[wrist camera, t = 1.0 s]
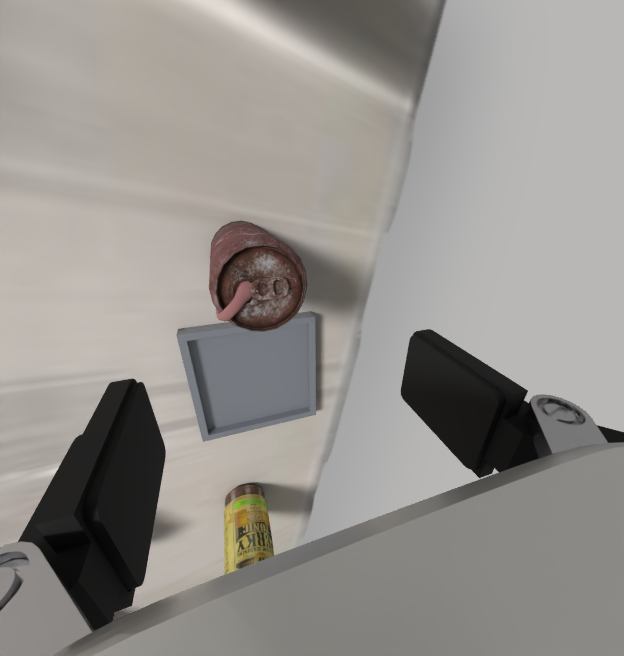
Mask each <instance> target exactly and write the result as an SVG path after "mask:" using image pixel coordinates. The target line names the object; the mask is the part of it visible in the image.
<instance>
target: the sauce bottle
mask: <svg viewBox="0 0 624 656" xmlns="http://www.w3.org/2000/svg"><path fill="white" fill-rule="evenodd" d="M272 556H274V551H273V543H272V536H271V530H270V523H269V516H268V510H267V503H266V500H265V499H264V492H263V490H262V489H261V488H259V487H258V486H256V485H243V486H239V487H237V488H235V489H234V490H232V491H231V492H230V493H229V494H228V495H227V496H226V500H225V511H224V565H225V571H224V574H228V573H230V572H233V571H236V570H238V569H241V568H243V567H246V566H248V565H251V564H254V563H256V562H259V561H262V560H264V559H267V558H270V557H272Z"/></svg>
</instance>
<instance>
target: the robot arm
mask: <svg viewBox="0 0 624 656" xmlns="http://www.w3.org/2000/svg"><path fill="white" fill-rule="evenodd" d="M527 392H528V391H527V390H526V389H524V388H523V387H521V386H519V385H518V384H516V383H515V382H513V381H512V380H510V379H509V378H507V377H505V376H504V375H502V374H500V373H499V372H498V371H496V370H494V369H493V368H491V367H489V366H488V365H486V364H485V363H483V362H482V361H480V360H479V359H477V358H475V357H474V356H472V355H471V354H469V353H467V352H466V351H464V350H463V349H461V348H460V347H458V346H456V345H455V344H453V343H452V342H450V341H449V340H447V339H445V338H443V337H442V336H440V335H439V334H437V333H436V332H434V331H433V330H430V329H429V330H428V329H427V330H422V331H416V332H415V333H414V334H413V336H412V337H411V338H410V342H409V347H408V353H407V358H406V364H405V370H404V376H403V381H402V387H401V395H402V398H403V399H404V401H405V402H406V403H407V404H408V405H409V406H410V407H411V408H412V409H413V410H414V411H415V413H417V415H418V416H419V417H420V418H421V419H422V420H423V421H424V422H425V423H426V425H427V426H428V427H429V428H430V429H431V430H432V431H433V432H434V433H435V434H436V435H437V436H438V437H439V439H440V440H441V441H442V442H443V443H444V444H445V445H446V446H447V447H448V448H449V450H450V451H451V452H452V453H453V454H454V455H455V456H456V457H457V458H458V459H459V460H460V461H461V462H462V464H463V465H464V466H465V467H467V468H468V469H471V470H472V471H473V472H474V473H475V474H476V475H477V476H478V477H479V478H481V477H484V476H486V475H489V474H492V472H493V470H494V468H495V469H496V470H497V471H498V472H499V473H497V474H494V475H491V476H489V477H486V478H483V479H480V480H478V481H475V482H472V483H469V484H466V485H464V486H461V487H458V488H455V489H452V490H450V491H447V492H445V493H442V494H439V495H436V496H434V497H431V498H428V499H425V500H423V501H420V502H417V503H415V504H412V505H409V506H406V507H404V508H401V509H398V510H396V511H393V512H390V513H387V514H385V515H382V516H379V517H377V518H374V519H371V520H368V521H366V522H363V523H361V524H358V525H355V526H353V527H350V528H347V529H345V530H342V531H339V532H337V533H334V534H331V535H329V536H326V537H323V538H321V539H318V540H315V541H312V542H310V543H307V544H305V545H302V546H299V547H296V548H294V549H291V550H288V551H286V552H283V553H280V554H278V555H275V556H272V557H270V558H267V559H264V560H262V561H259V562H256V563H254V564H251V565H248V566H246V567H243V568H241V569H238V570H236V571H233V572H230V573H228V574H225V575H223V576H220V577H218V578H215V579H213V580H210V581H208V582H205V583H203V584H200V585H198V586H195V587H193V588H190V589H188V590H185V591H182V592H180V593H177V594H175V595H172V596H170V597H167V598H165V599H162V600H160V601H158V602H155V603H153V604H151V605H149V606H146V607H144V608H142V609H140V610H137V611H135V612H133V613H131V614H128V615H126V616H124V617H122V618H119V619H117V620H115V621H113V616H114V612H116V611H119V610H122V609H124V608H127V607H130V606H132V603H133V597H134V592H135V588H136V587H139V586H141V585H142V584H143V581H144V578H145V573H146V567H147V561H148V555H149V549H150V544H151V538H152V532H153V526H154V520H155V515H156V509H157V503H158V497H159V491H160V486H161V480H162V474H163V468H164V462H165V454H166V453H165V445H164V442H163V439H162V436H161V433H160V430H159V427H158V424H157V421H156V418H155V415H154V412H153V409H152V406H151V403H150V400H149V397H148V395H147V392H146V389H145V386H144V384H143V383H142V382H139V383H137V382H136V380H135V379H128V380H122V381H116V382H111V383H110V384H109V385H108V387H107V389H106V391H105V393H104V395H103V397H102V399H101V401H100V402H99V404H98V406H97V408H96V410H95V412H94V414H93V416H92V418H91V419H90V421H89V423H88V425H87V427H86V429H85V431H84V433H83V435H80V436H78V437H76V439H75V440H74V441H73V443H72V445H71V446H70V448H69V450H68V452H67V454H66V456H65V457H64V459H63V461H62V463H61V465H60V466H59V468H58V470H57V472H56V474H55V476H54V477H53V479H52V481H51V483H50V485H49V486H48V488H47V490H46V492H45V494H44V496H43V497H42V499H41V501H40V503H39V505H38V506H37V508H36V510H35V512H34V514H33V516H32V517H31V519H30V521H29V523H28V525H27V526H26V528H25V530H24V532H23V534H22V536H21V537H20V539H19V541H18V542H16V543H12V544H7V545H4V546H2V547H0V656H624V432H620V431H616V430H613V429H609V428H605V427H601V426H597V425H596V424H595V423H594V421H593V419H592V418H591V417H590V416H589V415H588V414H587V412H586V411H584V410H583V409H581V408H580V407H579V406H577V405H575V404H573V403H571V402H569V401H567V400H564V399H562V398H559V397H555V396H551V395H536V396H533V397H532V398H531V400H530V402H529V403H527V402H526V401H524V399H525V396H526V394H527ZM112 621H113V622H112Z"/></svg>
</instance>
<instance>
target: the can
mask: <svg viewBox="0 0 624 656" xmlns="http://www.w3.org/2000/svg"><path fill="white" fill-rule="evenodd" d="M306 289H307V278H306V271H305V268H304V266H303V264H302V262H301V259H300V258H299V256H298V255H297V254H296V253H295V252H294V251H293V250H292V249H291V248H290V247H289V246H288V245H286V244H285V243H283V242H281V241H280V240H278V239H277V238H275V237H274V236H272V235H270V234H269V233H267V232H266V231H264V230H263V229H261V228H259V227H258V226H256V225H254V224H252V223H249V222H244V221H236V222H230V223H228V224H226V225H224V226H222V227H221V228H220V229H219V231H218V232H217V233H216V234H215V236H214V238H213V240H212V243H211V255H210V279H209V290H210V294H211V297H212V301H213V304H214V305H215V307H216V313H217V318H218V319H219V320H222V321H227V320H228V321H229V322H230V323H231V324H233V325H235V326H238V327H240V328H243V329H246V330H249V331H259V332H265V331H269V330H274V329H277V328H279V327H281V326H283V325H285V324H286V323H288V322H289V321H290V320H291V319H292V318H293V317H294V316H295V315H296V314H297V313H298V311H299V309H300V307H301V306H302V304H303V302H304V299H305V294H306Z"/></svg>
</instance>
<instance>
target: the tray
mask: <svg viewBox="0 0 624 656" xmlns="http://www.w3.org/2000/svg"><path fill="white" fill-rule="evenodd" d="M177 339H178V343H179V347H180V351H181V355H182V359H183V363H184V367H185V371H186V375H187V379H188V383H189V387H190V391H191V395H192V399H193V403H194V407H195V411H196V415H197V419H198V423H199V427H200V432H201V436H202V440H203V442H204V441H208V440H212V439H216V438H221V437H225V436H229V435H233V434H237V433H241V432H246V431H250V430H254V429H258V428H262V427H266V426H271V425H275V424H279V423H283V422H287V421H291V420H296V419H300V418H304V417H308V416H312V415H316V346H315V315H314V314H313V313H312V312H303V313H297V314H296V315H295V316H294V317H293V318H292V319H291V320H290V321H289V322H288V323H286V324H285V325H283V326H281V327H279V328H277V329H274V330H269V331H265V332H259V331H249V330H246V329H243V328H240V327H238V326H235V325H233V324H231V323H230V322H227V323H220V324H212V325H205V326H197V327H189V328H182V329H178V332H177Z"/></svg>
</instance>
